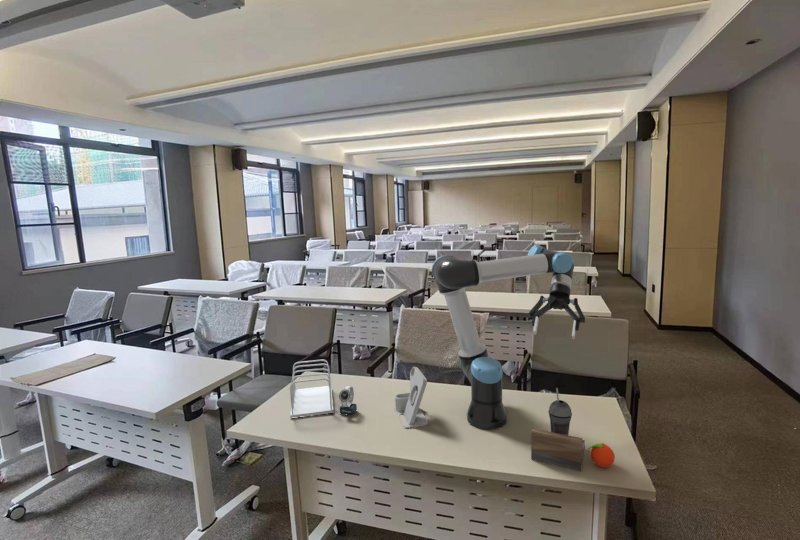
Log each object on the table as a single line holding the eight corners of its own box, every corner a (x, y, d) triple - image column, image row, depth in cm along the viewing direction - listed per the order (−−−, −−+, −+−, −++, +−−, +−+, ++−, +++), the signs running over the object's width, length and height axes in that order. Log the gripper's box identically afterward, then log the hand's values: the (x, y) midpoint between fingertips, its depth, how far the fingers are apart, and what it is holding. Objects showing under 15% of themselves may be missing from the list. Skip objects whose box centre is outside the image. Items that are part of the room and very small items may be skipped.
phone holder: (393, 408, 179) (392, 367, 176) (417, 405, 181) (416, 364, 178) (404, 429, 162) (402, 383, 159) (429, 425, 164) (428, 380, 162)
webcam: (338, 416, 173) (336, 390, 172) (346, 407, 181) (345, 382, 179) (350, 418, 171) (349, 392, 170) (358, 409, 179) (357, 384, 177)
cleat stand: (580, 471, 133) (581, 441, 131) (531, 459, 140) (531, 431, 138) (584, 448, 145) (585, 420, 144) (538, 438, 152) (539, 412, 151)
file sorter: (293, 393, 197) (291, 361, 194) (331, 389, 200) (329, 357, 198) (290, 419, 172) (287, 382, 170) (334, 414, 176) (332, 378, 173)
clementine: (589, 471, 133) (590, 449, 132) (584, 458, 140) (584, 437, 139) (617, 472, 132) (618, 451, 131) (610, 459, 138) (611, 439, 137)
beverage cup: (573, 452, 138) (574, 393, 135) (549, 450, 139) (550, 392, 136) (568, 440, 145) (570, 384, 142) (546, 438, 146) (547, 383, 144)
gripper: (595, 295, 167) (590, 344, 156) (529, 291, 179) (521, 336, 168) (594, 284, 162) (589, 334, 151) (527, 281, 173) (518, 326, 162)
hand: (553, 335), depth 159 cm, fingers open, 13 cm apart
